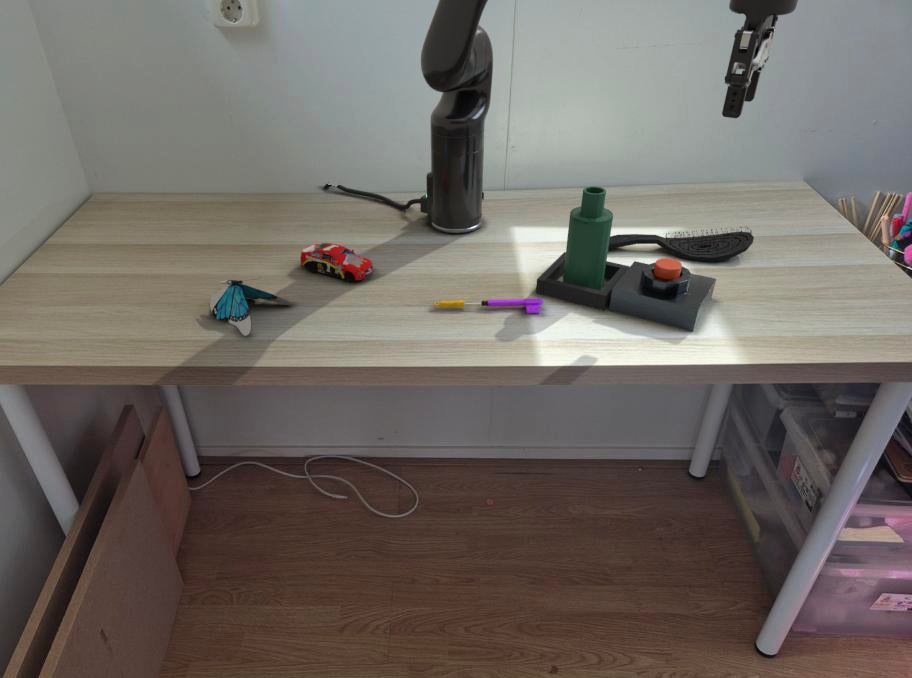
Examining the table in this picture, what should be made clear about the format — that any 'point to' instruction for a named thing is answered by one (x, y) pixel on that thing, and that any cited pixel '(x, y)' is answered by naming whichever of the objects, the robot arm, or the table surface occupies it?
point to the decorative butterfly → (238, 303)
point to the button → (667, 268)
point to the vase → (588, 240)
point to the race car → (336, 261)
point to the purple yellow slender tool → (499, 303)
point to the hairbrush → (693, 244)
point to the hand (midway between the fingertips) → (737, 108)
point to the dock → (576, 293)
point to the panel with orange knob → (662, 296)
